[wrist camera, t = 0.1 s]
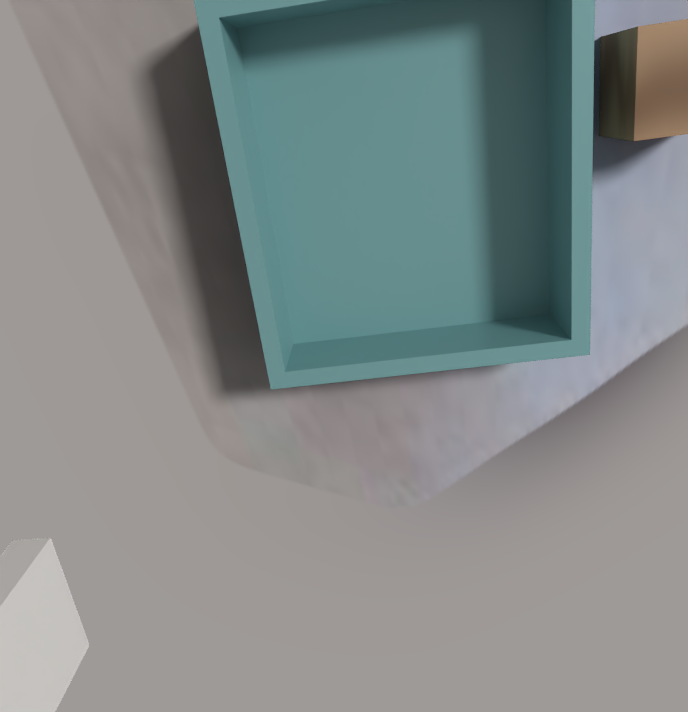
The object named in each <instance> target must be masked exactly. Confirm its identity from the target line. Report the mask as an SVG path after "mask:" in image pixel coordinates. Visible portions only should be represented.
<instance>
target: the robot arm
mask: <svg viewBox="0 0 688 712" xmlns="http://www.w3.org/2000/svg"><path fill="white" fill-rule="evenodd" d="M88 647H89V642H88V640H87V637H86V634H85V631H84V629H83V626H82V623H81V621H80V618H79V615H78V612H77V609H76V607H75V604H74V601H73V598H72V596H71V593H70V590H69V588H68V585H67V582H66V579H65V576H64V574H63V571H62V568H61V565H60V563H59V560H58V557H57V554H56V551H55V549H54V546H53V544H52V540H51V538H40V539H27V540H15V541H12V542H11V543H10V544H9V546H8V547H7V548H6V549H5V551H4V552H3V553H2V554H1V556H0V712H55V711H56V709H57V707H58V705H59V703H60V701H61V699H62V697H63V696H64V693H65V691H66V690H67V688H68V686H69V684H70V682H71V680H72V678H73V676H74V674H75V672H76V670H77V668H78V666H79V664H80V662H81V660H82V658H83V657H84V655H85V652H86V651H87V648H88Z"/></svg>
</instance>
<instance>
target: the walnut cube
mask: <svg viewBox="0 0 688 712" xmlns="http://www.w3.org/2000/svg"><path fill="white" fill-rule="evenodd" d="M683 134H688V19H685V20H679V21H672V22H665V23H659V24H652V25H646V26H639V27H635V28H631V29H628V30H624V31H620V32H617V33H613V34H610V35H606V36H602V37H601V50H600V109H599V136H602V137H609V138H616V139H622V140H629V141H639V140H646V139H654V138H661V137H668V136H676V135H683Z"/></svg>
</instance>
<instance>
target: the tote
mask: <svg viewBox="0 0 688 712" xmlns="http://www.w3.org/2000/svg"><path fill="white" fill-rule="evenodd" d="M194 4H195V9H196V14H197V19H198V25H199V30H200V35H201V40H202V45H203V50H204V55H205V60H206V65H207V70H208V75H209V80H210V85H211V90H212V95H213V100H214V105H215V110H216V115H217V120H218V125H219V131H220V136H221V141H222V146H223V151H224V156H225V161H226V166H227V171H228V176H229V181H230V186H231V191H232V196H233V201H234V206H235V211H236V216H237V221H238V226H239V232H240V237H241V242H242V247H243V252H244V257H245V262H246V267H247V272H248V277H249V282H250V287H251V292H252V297H253V302H254V307H255V312H256V317H257V322H258V327H259V332H260V338H261V343H262V348H263V353H264V358H265V363H266V368H267V373H268V378H269V383H270V388H271V389H280V388H290V387H299V386H308V385H317V384H326V383H335V382H344V381H354V380H363V379H372V378H381V377H390V376H399V375H408V374H418V373H427V372H436V371H445V370H454V369H463V368H472V367H482V366H491V365H500V364H509V363H518V362H527V361H536V360H546V359H555V358H564V357H573V356H582V355H590V320H591V245H592V171H593V97H594V23H595V0H194Z"/></svg>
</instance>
